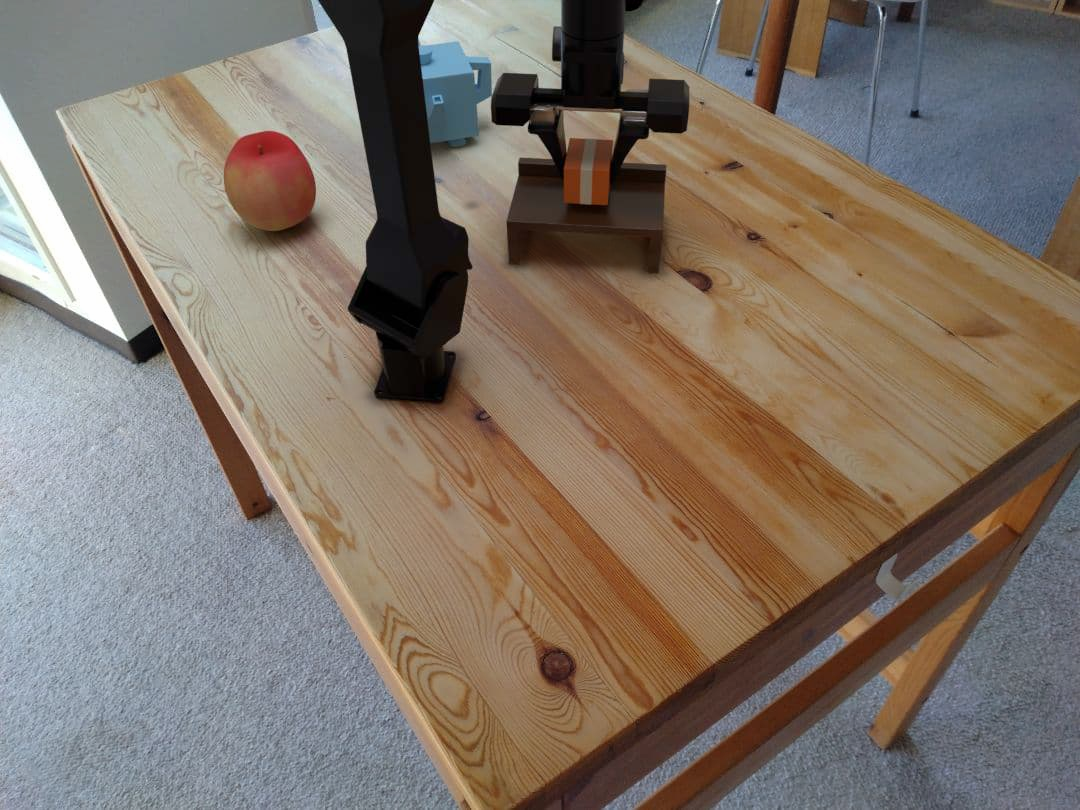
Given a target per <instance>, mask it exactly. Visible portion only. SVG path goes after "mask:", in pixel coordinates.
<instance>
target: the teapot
mask: <svg viewBox="0 0 1080 810" xmlns="http://www.w3.org/2000/svg"><path fill="white" fill-rule="evenodd" d="M418 45H419V53H420V61H421V69H422V77H423V86H424V94H425V102H426V110H427V118H428V127H429V135H430V143H431V144H435V143H441V142H447V143H448V145H449V146H451V147H456V148H457V147H462V146H464V145H466V143H467V140H466V139H467V138H473V137H478V136H480V131H479V129H480V128H479V119H478V118H479V117H478V116H479V115H478V104H480V103H482V102H484V101H486V100H487V99H489V98H491V97H492V95H493V87H492V86H493V84H492V83H493V81H492V63H491V59H489V57H488V56H467V55H466V54H465V52H464V50H463V47H462V45H461V43H460V42H459V41H450V42H449V41H448V42H441V43H434V44H427V45H425V44H424V45H423V44H422V45H421V41H420V38H419V37H418ZM474 71H477V79H476V78H475V72H474Z"/></svg>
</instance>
